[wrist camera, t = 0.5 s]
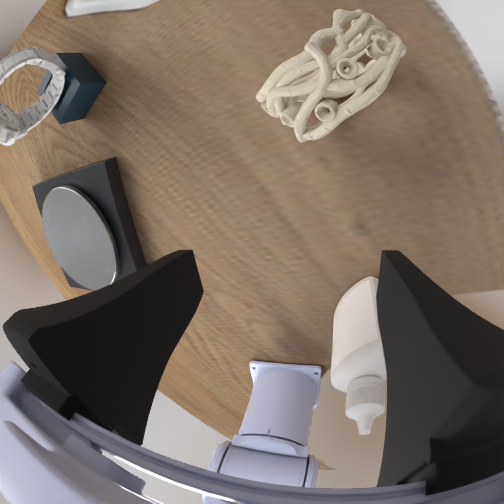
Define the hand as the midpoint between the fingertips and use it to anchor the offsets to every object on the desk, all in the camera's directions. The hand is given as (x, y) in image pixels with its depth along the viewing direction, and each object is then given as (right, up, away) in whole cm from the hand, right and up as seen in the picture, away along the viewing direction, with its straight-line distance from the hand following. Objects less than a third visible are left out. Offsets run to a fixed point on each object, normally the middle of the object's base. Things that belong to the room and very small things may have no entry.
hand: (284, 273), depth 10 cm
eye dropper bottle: (+8, -3, +12) cm, 15 cm away
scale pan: (-19, +2, +14) cm, 24 cm away
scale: (-19, +3, +16) cm, 25 cm away
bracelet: (+4, +12, +4) cm, 13 cm away
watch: (-17, +16, +8) cm, 25 cm away
